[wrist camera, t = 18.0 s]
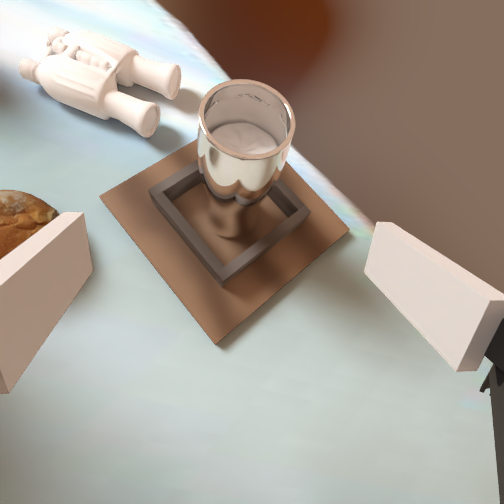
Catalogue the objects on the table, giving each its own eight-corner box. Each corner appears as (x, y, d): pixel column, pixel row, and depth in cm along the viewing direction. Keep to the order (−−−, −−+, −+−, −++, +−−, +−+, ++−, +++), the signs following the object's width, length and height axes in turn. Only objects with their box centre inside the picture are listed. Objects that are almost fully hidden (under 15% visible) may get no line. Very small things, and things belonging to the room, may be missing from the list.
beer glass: (274, 215, 35) (318, 122, 21) (231, 255, 33) (249, 181, 19) (230, 175, 36) (246, 61, 22) (186, 211, 34) (172, 110, 20)
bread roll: (38, 211, 37) (-34, 166, 30) (100, 225, 33) (34, 175, 26) (-14, 289, 33) (-109, 257, 26) (48, 314, 29) (-44, 284, 22)
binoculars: (148, 147, 38) (140, 119, 33) (24, 97, 37) (0, 62, 33) (184, 87, 41) (182, 55, 37) (72, 41, 41) (55, 4, 37)
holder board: (215, 344, 31) (216, 343, 27) (101, 200, 34) (89, 181, 30) (346, 232, 37) (362, 218, 33) (240, 119, 40) (243, 94, 37)
